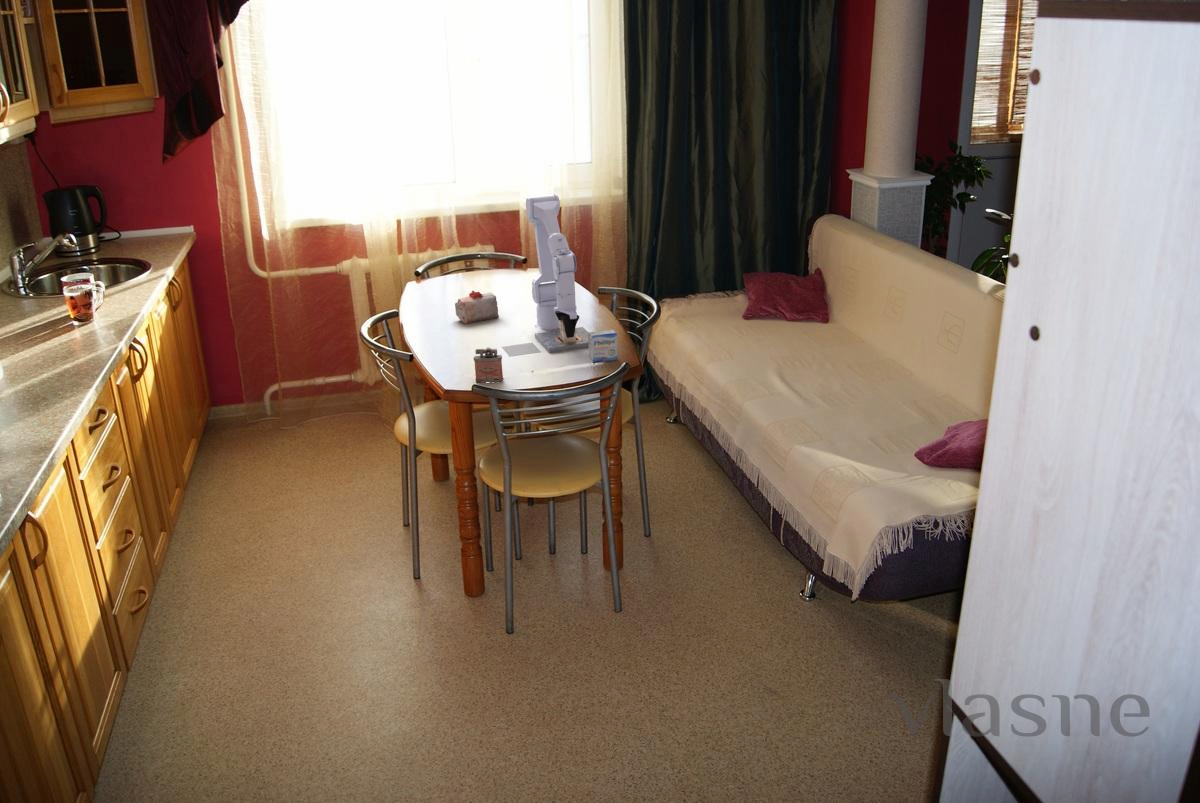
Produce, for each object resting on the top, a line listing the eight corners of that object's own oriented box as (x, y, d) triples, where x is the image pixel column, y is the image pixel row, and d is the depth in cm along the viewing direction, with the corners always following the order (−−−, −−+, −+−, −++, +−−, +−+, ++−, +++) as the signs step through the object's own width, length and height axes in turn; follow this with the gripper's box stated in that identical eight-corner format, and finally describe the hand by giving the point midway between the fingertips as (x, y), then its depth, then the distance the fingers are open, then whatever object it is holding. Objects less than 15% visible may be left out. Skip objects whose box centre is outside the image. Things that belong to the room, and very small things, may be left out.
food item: (463, 325, 342) (461, 297, 338) (454, 320, 348) (452, 292, 345) (500, 318, 348) (498, 291, 344) (491, 313, 354) (489, 286, 351)
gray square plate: (501, 349, 316) (501, 346, 316) (532, 345, 319) (532, 342, 319) (509, 359, 308) (509, 356, 307) (541, 354, 311) (541, 351, 310)
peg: (560, 338, 317) (559, 320, 315) (572, 336, 318) (571, 318, 316) (563, 342, 314) (562, 323, 311) (576, 340, 315) (575, 322, 313)
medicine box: (592, 363, 302) (591, 335, 298) (588, 359, 306) (587, 331, 302) (618, 360, 304) (617, 332, 300) (613, 355, 308) (612, 328, 304)
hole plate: (535, 340, 323) (534, 333, 323) (582, 334, 328) (582, 326, 327) (549, 356, 309) (548, 347, 308) (598, 348, 314) (598, 340, 313)
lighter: (504, 378, 292) (501, 345, 289) (503, 382, 289) (500, 349, 285) (476, 380, 292) (473, 347, 288) (475, 384, 289) (472, 351, 285)
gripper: (546, 288, 316) (549, 330, 321) (560, 300, 303) (562, 343, 308) (568, 286, 318) (570, 327, 323) (582, 297, 305) (584, 340, 310)
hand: (567, 335), depth 316 cm, fingers closed on peg, 4 cm apart
